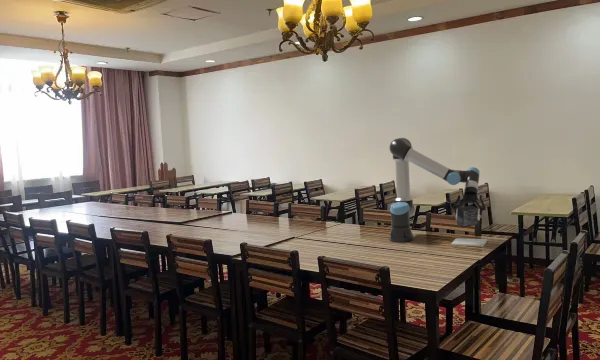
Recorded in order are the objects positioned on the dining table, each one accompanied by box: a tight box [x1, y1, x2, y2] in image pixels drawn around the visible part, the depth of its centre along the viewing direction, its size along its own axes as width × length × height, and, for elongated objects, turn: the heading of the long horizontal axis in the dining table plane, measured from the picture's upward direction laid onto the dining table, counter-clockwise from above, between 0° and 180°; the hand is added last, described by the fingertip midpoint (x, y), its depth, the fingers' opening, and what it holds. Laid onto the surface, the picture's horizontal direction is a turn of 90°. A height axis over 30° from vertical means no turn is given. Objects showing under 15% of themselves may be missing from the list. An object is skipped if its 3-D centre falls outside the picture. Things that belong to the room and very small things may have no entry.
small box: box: [456, 205, 479, 228], centre depth 280 cm, size 11×6×10 cm, turn 107°
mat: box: [450, 237, 488, 248], centre depth 283 cm, size 18×14×1 cm
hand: (467, 219), depth 279 cm, fingers closed on small box, 12 cm apart
